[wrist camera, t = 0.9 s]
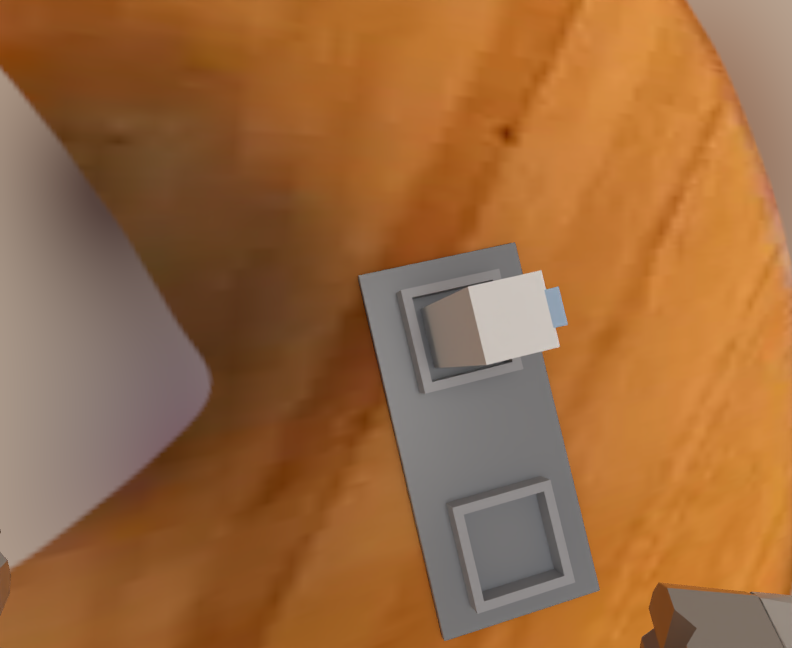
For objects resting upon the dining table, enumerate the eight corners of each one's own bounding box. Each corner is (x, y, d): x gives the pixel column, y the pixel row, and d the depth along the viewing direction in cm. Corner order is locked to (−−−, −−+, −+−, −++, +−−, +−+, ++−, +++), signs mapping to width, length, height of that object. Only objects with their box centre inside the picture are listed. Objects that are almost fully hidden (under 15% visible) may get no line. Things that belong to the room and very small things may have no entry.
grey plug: (420, 308, 44) (467, 286, 34) (487, 293, 45) (553, 267, 34) (434, 368, 44) (486, 364, 33) (501, 351, 45) (572, 343, 34)
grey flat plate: (357, 276, 44) (362, 271, 42) (512, 244, 47) (523, 237, 44) (442, 637, 44) (451, 651, 41) (595, 587, 46) (611, 598, 43)
